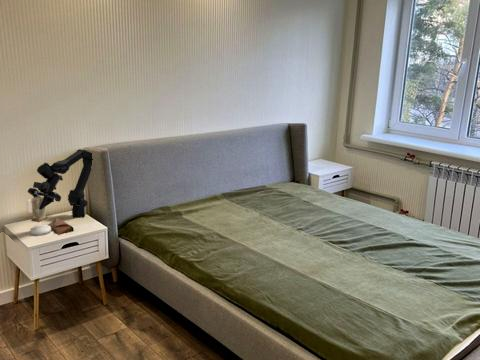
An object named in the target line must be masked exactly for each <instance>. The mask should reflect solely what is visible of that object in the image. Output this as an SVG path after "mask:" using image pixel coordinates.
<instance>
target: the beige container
mask: <svg viewBox="0 0 480 360" xmlns="http://www.w3.org/2000/svg"><path fill="white" fill-rule="evenodd" d="M30 200H31V210H32V218H31V222H35V223H41V222H43V221H47V220H48V219H49V217H47V216H46V207H44V208H43V209H41V210H40V209H39V208H40V206H41V204H42V202H43V200H44V196H41V197H35V198H34V197H32V198H30Z"/></svg>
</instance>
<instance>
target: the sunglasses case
mask: <svg viewBox="0 0 480 360" xmlns="http://www.w3.org/2000/svg"><path fill="white" fill-rule="evenodd" d="M47 225H48V226H50V227H51V231H53V232H55V233H56V234H57V235H59V236H61V235H65V234H68V233H72V232H74V227H73V226H72V225H71V224H68V223H67V222H65V221H64V220H62V219H60V218H58V217H56V218H54V220H53V221H51V222H50V223H48V224H47ZM64 233H65V234H64Z"/></svg>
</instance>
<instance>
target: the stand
mask: <svg viewBox="0 0 480 360" xmlns="http://www.w3.org/2000/svg"><path fill="white" fill-rule="evenodd" d="M29 230H30V234H31V236H44V235H49V234H50V233H51V232H52V230H51V227H50V226H48V224H47V225H45V224H41V225H35V226H33V227H31V228H30V229H29Z"/></svg>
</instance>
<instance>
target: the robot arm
mask: <svg viewBox="0 0 480 360" xmlns="http://www.w3.org/2000/svg"><path fill="white" fill-rule="evenodd" d="M92 153H93V152H90V151H87V150H85V149H81V148H80V149H77V150H76V151H75V152H73V153H72V154H70V155H69V156H68V157H66V158H64V159H62V160H58V161H56V162H53V163H52V164H51V165H50V164H49V163H48V162H43V164H41V165H40V166H38V167H37V169H36V172H37V173H38V174H39V175H40V176H41V177H43V179H45V181H43V182H37V181H34V182H33V185H32V187H29V188H28V189H27V191H26V192H27V193H28V194H30V195H31V196H32V198H35V197H43V198H44V200H43V202H42V204H41V206H40V208H39V209H40V210H41V209H43V208H44V207H45V208H46V207H47V206H49V205H50V204H51V203H54V202H55V201H56V202H57V203H58V202H61V200H62V196H61V195H60V194H59V193H58V192H56V190H57V185H58V184H59V182H60V181H63V180H64V178H63V176H62V175H65V174H66V173H67V172H68V171H69V170H70V167H71V166H74V164H76V163H77V162H78V161H80V160H81V159H82V169H81V171H80V174H79V177H78V180H77V182H76V185H75V186H74V187H75V188H73V189H70V190H69V193H68V195H67V201H68V203H69V205H70V206H69V207H72V208H71V214H72V218H85V216H86V214H87V213H86V207H87V206H88V201H87V200H86V199H85V196H86V195H85V192H84V191H85V189H86V186H87V183H88V180H89V178H90V175H91V171H92V169H91V166H92V160H93V159H92ZM60 174H61V175H60Z"/></svg>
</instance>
